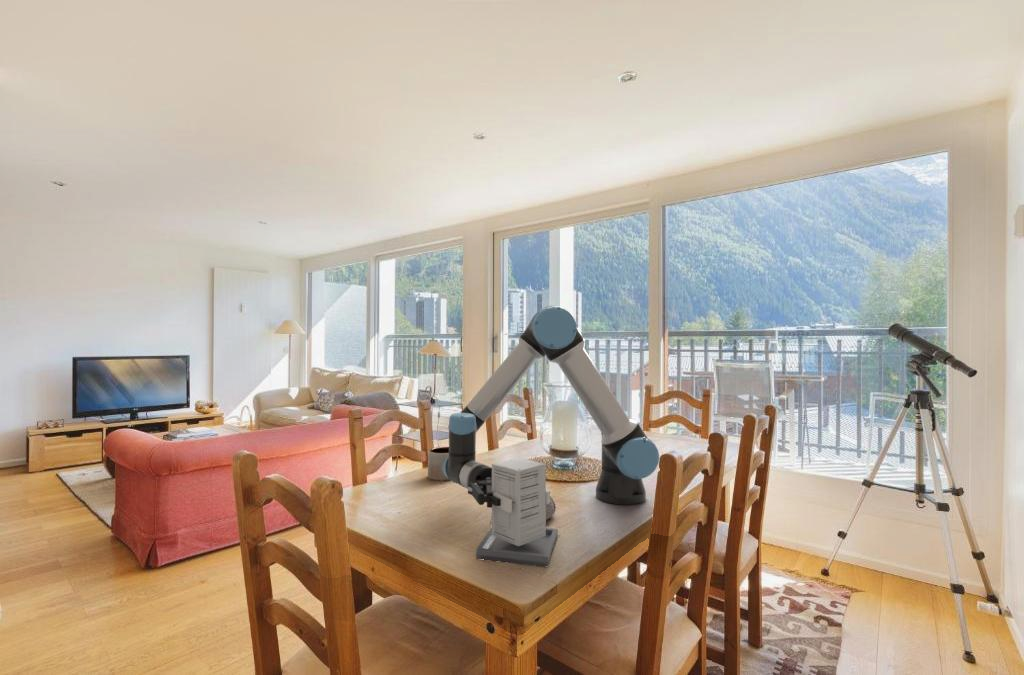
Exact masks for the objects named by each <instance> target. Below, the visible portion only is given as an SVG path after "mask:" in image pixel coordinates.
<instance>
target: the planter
mask: <svg viewBox="0 0 1024 675" xmlns="http://www.w3.org/2000/svg"><path fill="white" fill-rule="evenodd" d="M427 454H428V455H427V477H428V479H430V480H433V481H436V480H438V481H437V482H446V480H448V481H450V479H448V478H447V477H446V476H445V475H444V473H443V470H442V466H443V463H444V461H445V459H446V457H447V456H448V455H449V446H437V447H432V448H429V449H428V450H427Z"/></svg>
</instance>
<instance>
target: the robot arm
mask: <svg viewBox="0 0 1024 675" xmlns="http://www.w3.org/2000/svg"><path fill="white" fill-rule="evenodd" d="M585 341H586V340H585V338H584V336H583V334H582V333H581V331H580V329H579V328H578V324H577V321H576V319H575V317H574V315H573V314H572V313H571V312H570V311H569V310H568V309H566V308H565V307H562V306H559V305H549V306H545V307H544V308H541V309H540V310H539V311H538V312H536V313H535V314H534V316H532V318H531V320H530V322H529V324H528V325H527V327H526V329H524V331H523V333H522V334H521V335H520V336H519V337H518V343H517V345H516V346H515V347H514V348H513V349H512V351H511V352H510V353H509V354H508V356H507V357H506V358H505V359H504V360H503V362H501V364H500V365H499V366H498V368H497V369H496V370H495V371H494V372H493V374H492V375H491V376H490V377H489V378H488V379H487V381H485V383H484V384H483V385H482V387H480V388H479V390H478V391H477V393H476V394H475V395H474V396H473V397H472V398H471V400H470V401H469V402H468V404H466V406H465V407H464V408H463V410H461V412H456V413H453V414H451V415H450V416H449V418H448V421H449V422H448V447H449V455H448V456H447V457H446V459H445V461H444V463H443V466H442V470H443V473H444V475H445V476H446V477H447V478H448V479H450V480H449V481H451V482H452V483H454V484H457V485H458V486H461V487H463V488H465V489H467V494H468V495H470V496H472V497H473V498H474V500H475V501H476V503H477V504H478V505H479V506H484V505H485V503H486V507H487V508H491V509H492V504H493V505H495V506H497V507H499V508H501V509H503V510H505V511H506V512H508V513H510V512H512V500H511V499H509V498H507V497H505V496H503V495H501V494H499V493H497V492H495V493H493V495H492V466H488V465H487V464H484V463H482V462H480V461H476V453H477V452H476V444H477V443H476V441H477V440H476V439H477V432H479V430H480V429H481V427H482V426H484V424H485V422H486V421H488V419H489V418H490V416H491V415H492V414H493V413H494V412H495V410H496V409H497V408H498V407H499V406H500V404H501V403H503V401H504V400H505V398H506V397H507V396H509V394H510V392H512V391H513V389H514V388H515V387H516V386H517V384H518V383H519V382H520V381H521V380H522V378H524V376H525V375H526V373H527V372H528V371H529V370H530V369H531V368H532V367H533V365H535V363H536V362H537V361H538V360H539V359H544V357H545V356H546V357H547V360H549V362H551V363H554V364H556V365H557V366H559V368H560V370H561V371H562V373H563V374H564V376H565V378H566V379H567V381H568V382H569V385H570V386H571V387H572V389H573V390H574V391H575V393H576V395H577V397H578V398H579V400H580V401H581V403H582V404H583V406H584V408H585V409H586V410H587V412H588V413H589V415H590V417H591V418H592V420H593V421H594V423H595V425H596V426H597V428H598V429H599V431H600V432H601V441H600V442H601V472H600V475H599V478H598V481H597V484H596V487H595V497H596V499H598V500H600V501H602V502H606V503H609V504H614V505H638V504H640V503H644V502H645V501H646V500H647V499H646V498H647V495H646V494H647V493H646V492H647V491H646V488H645V485H644V482H643V479H646V478H648V477H650V476H651V475H652V474H653V473H655V471H656V470H657V467H658V466H659V463H660V462H659V461H660V452H659V449H658V448H657V446H656V444H655V442H653V441H652V440H651V439H649V438H648V436H647V435H646V434H645V432H644V430H643V429H642V427H641V425H640V423H638V421H637V420H635V419H631V418H629V417H628V415H627V414H626V412H625V411H624V409H623V407H622V406H621V404H620V403H619V401H618V399H617V398H616V397H615V395H614V393H613V391H612V390H611V388H610V387H609V385H608V384H607V382H606V380H605V379H604V377H603V376H602V374H601V373H600V371H599V369H598V368H597V367H596V365H595V363H594V362H593V360H592V359H591V357H590V356H589V354H588V352H587V351H586V349H585V347H584V345H585ZM550 496H551V491H549V490H547V489H546V504H550Z"/></svg>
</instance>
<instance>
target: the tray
mask: <svg viewBox="0 0 1024 675" xmlns="http://www.w3.org/2000/svg"><path fill="white" fill-rule="evenodd" d="M558 533H559V532H558V528H553V527H552V528H551V527H550V528H549V527H546V536H544V537H542V538H539V539H536V540H534V541H531V542H529V543H526V544H524V545H521V546H516V545H514V544H512V543H509V542H507V541H504V540H502V539H500V538H498V537H495V536H493V535H492V526H491V528H490V529H489V531H488V532H487V533H486V535H485V536H484V538H483V539H482V540H481V541H480V543H479V545H478V546H477V548H476V550H475V553H476V554H475V559H476V558H477V559H484V560H483V561H486V560H491V561H490V562H496V561H500V562H499V563H505V562H508V563H507V564H514V563H515V564H517V565H525V566H533V565H536V567H542V566H548V565H550V563H549V562H551V559H552V556H553V553H554V550H555V546H556V544H557V541H558V539H559V538H558ZM477 559H476V560H477ZM548 567H549V566H548Z"/></svg>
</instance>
